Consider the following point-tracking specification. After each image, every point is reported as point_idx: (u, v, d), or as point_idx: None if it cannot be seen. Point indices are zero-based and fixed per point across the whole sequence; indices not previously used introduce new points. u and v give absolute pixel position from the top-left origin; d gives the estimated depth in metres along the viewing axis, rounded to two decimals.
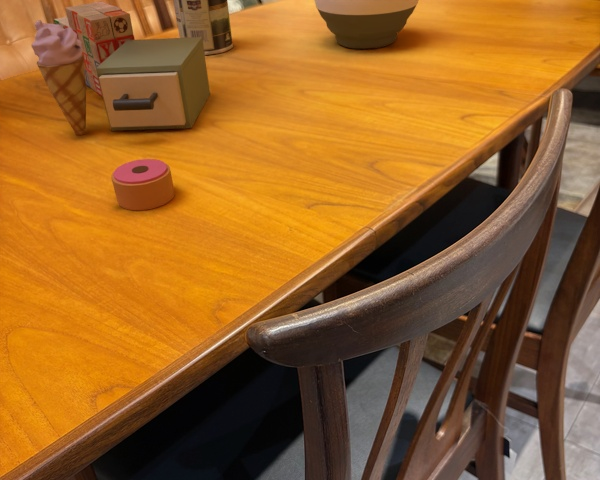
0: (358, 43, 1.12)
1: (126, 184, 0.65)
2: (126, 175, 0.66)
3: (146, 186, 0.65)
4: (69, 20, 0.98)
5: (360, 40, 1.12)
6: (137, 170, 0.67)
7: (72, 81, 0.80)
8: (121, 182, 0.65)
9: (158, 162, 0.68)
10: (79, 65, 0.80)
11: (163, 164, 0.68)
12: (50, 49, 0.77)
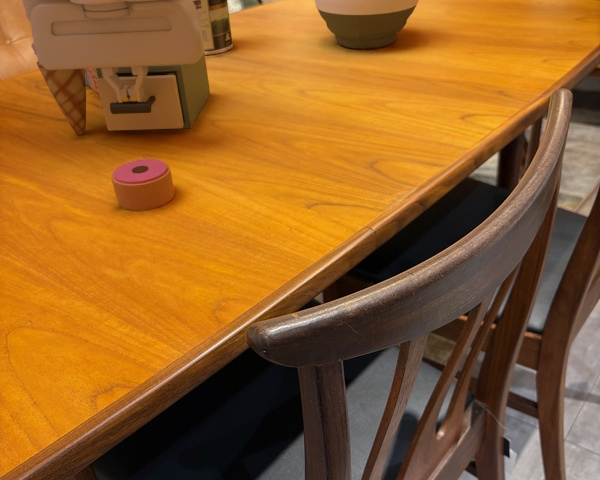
0: (358, 43, 1.12)
1: (126, 184, 0.65)
2: (126, 175, 0.66)
3: (146, 186, 0.65)
4: None
5: (360, 40, 1.12)
6: (137, 170, 0.67)
7: (72, 81, 0.80)
8: (121, 182, 0.65)
9: (158, 162, 0.68)
10: None
11: (163, 164, 0.68)
12: None
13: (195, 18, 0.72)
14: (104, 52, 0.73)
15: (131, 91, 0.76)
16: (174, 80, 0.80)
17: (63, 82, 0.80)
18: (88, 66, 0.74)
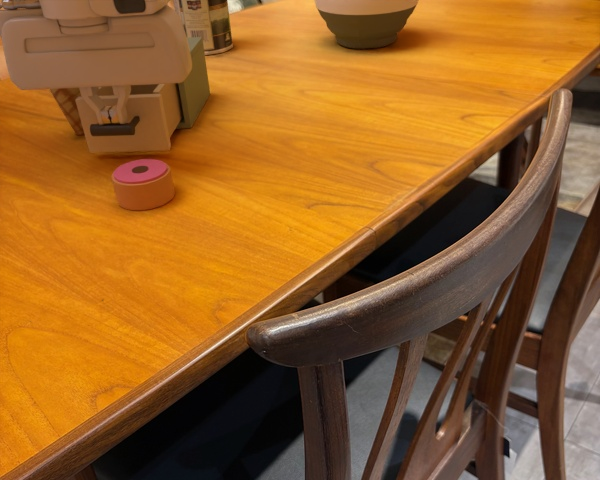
0: (358, 43, 1.12)
1: (126, 184, 0.65)
2: (126, 175, 0.66)
3: (146, 186, 0.65)
4: None
5: (360, 40, 1.12)
6: (137, 170, 0.67)
7: None
8: (121, 182, 0.65)
9: (158, 162, 0.68)
10: None
11: (163, 164, 0.68)
12: None
13: (181, 34, 0.66)
14: (82, 71, 0.67)
15: (113, 112, 0.70)
16: (160, 99, 0.74)
17: None
18: (65, 86, 0.68)
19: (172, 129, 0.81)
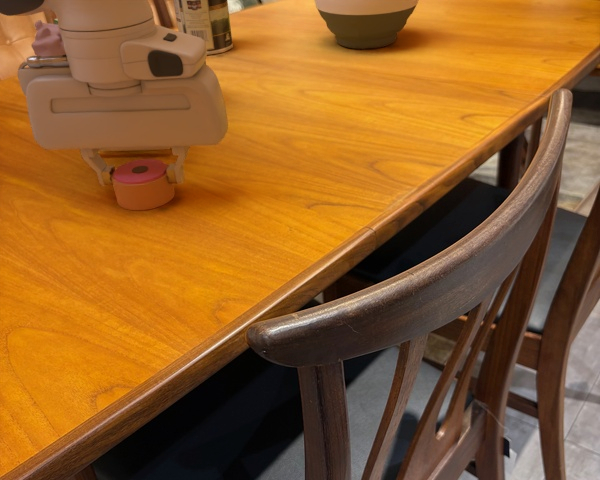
0: (358, 43, 1.12)
1: (126, 184, 0.65)
2: (126, 175, 0.66)
3: (146, 186, 0.65)
4: None
5: (360, 40, 1.12)
6: (137, 170, 0.67)
7: None
8: (121, 182, 0.65)
9: (158, 162, 0.68)
10: None
11: (163, 164, 0.68)
12: (50, 49, 0.77)
13: (218, 94, 0.62)
14: (111, 132, 0.63)
15: (170, 172, 0.66)
16: None
17: None
18: (93, 146, 0.64)
19: None
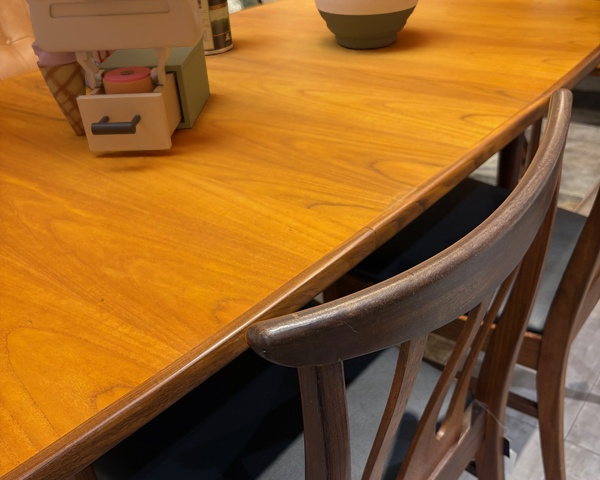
0: (358, 43, 1.12)
1: (115, 82, 0.75)
2: (115, 76, 0.76)
3: (132, 84, 0.75)
4: None
5: (360, 40, 1.12)
6: (125, 73, 0.77)
7: (72, 81, 0.80)
8: (111, 82, 0.75)
9: (143, 68, 0.78)
10: (79, 65, 0.80)
11: (147, 69, 0.78)
12: None
13: (193, 0, 0.72)
14: (102, 35, 0.73)
15: (153, 73, 0.76)
16: (161, 98, 0.74)
17: (63, 82, 0.80)
18: (86, 49, 0.74)
19: (173, 128, 0.81)
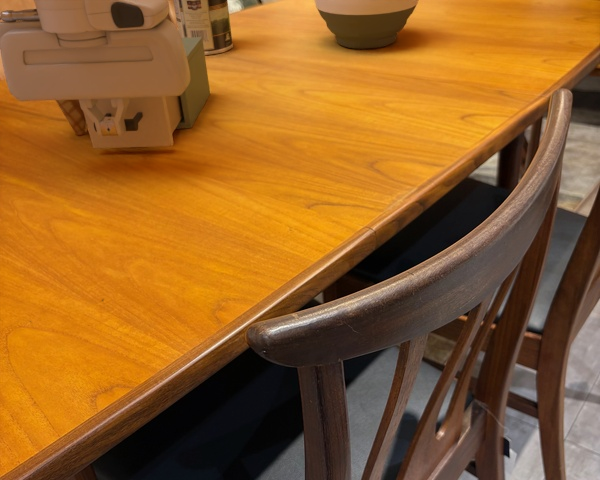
0: (358, 43, 1.12)
1: None
2: None
3: None
4: None
5: (360, 40, 1.12)
6: None
7: None
8: None
9: None
10: None
11: None
12: None
13: (179, 47, 0.66)
14: (80, 83, 0.67)
15: (111, 124, 0.71)
16: None
17: None
18: (64, 97, 0.68)
19: (174, 125, 0.82)
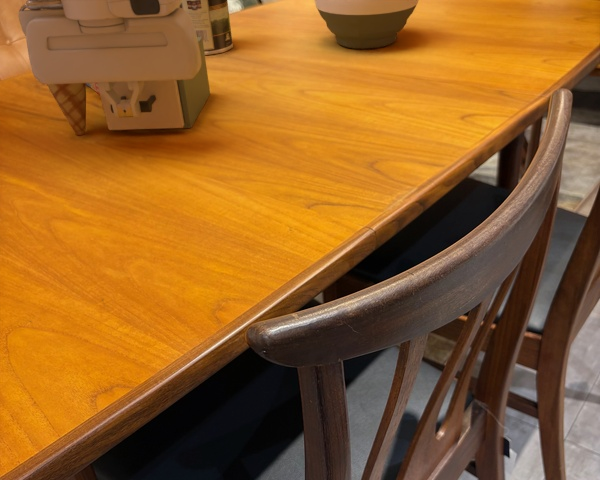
0: (358, 43, 1.12)
1: None
2: None
3: None
4: None
5: (360, 40, 1.12)
6: None
7: None
8: None
9: None
10: None
11: None
12: None
13: (192, 34, 0.71)
14: (100, 67, 0.72)
15: (127, 106, 0.76)
16: None
17: None
18: (84, 81, 0.73)
19: None
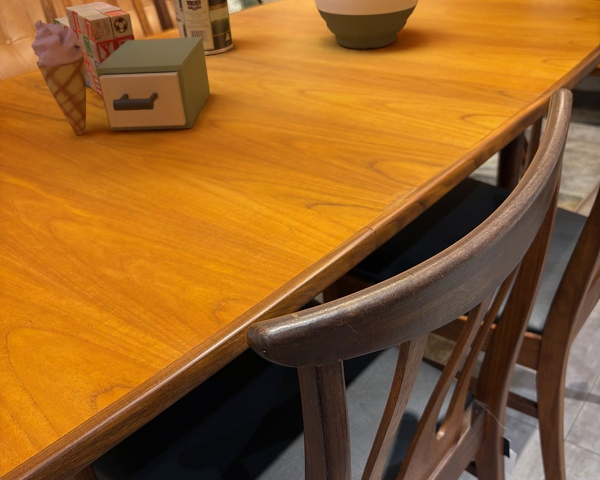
0: (358, 43, 1.12)
1: None
2: None
3: None
4: (69, 20, 0.98)
5: (360, 40, 1.12)
6: None
7: (72, 81, 0.80)
8: None
9: None
10: (79, 65, 0.80)
11: None
12: (50, 49, 0.77)
13: None
14: None
15: None
16: (176, 77, 0.81)
17: (63, 82, 0.80)
18: None
19: None
